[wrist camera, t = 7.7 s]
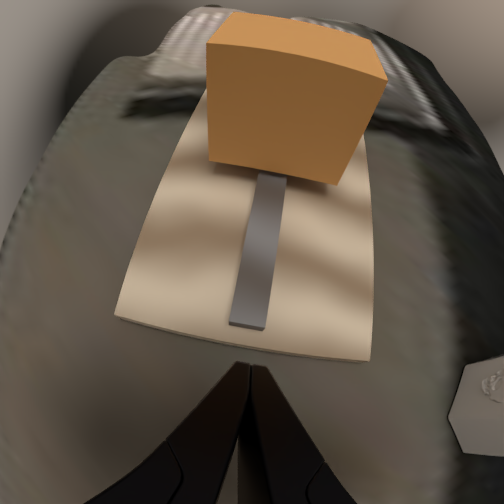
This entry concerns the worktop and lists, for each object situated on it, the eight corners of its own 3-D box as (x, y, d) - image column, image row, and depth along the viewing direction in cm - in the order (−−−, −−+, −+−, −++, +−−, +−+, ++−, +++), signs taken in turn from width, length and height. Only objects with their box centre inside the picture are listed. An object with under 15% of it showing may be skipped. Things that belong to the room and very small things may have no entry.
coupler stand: (361, 362, 17) (455, 338, 9) (120, 318, 17) (45, 264, 9) (356, 121, 28) (385, 52, 19) (209, 92, 27) (209, 16, 19)
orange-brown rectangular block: (336, 185, 19) (388, 81, 11) (208, 160, 19) (206, 42, 11) (335, 131, 22) (370, 40, 14) (227, 110, 22) (233, 12, 14)
